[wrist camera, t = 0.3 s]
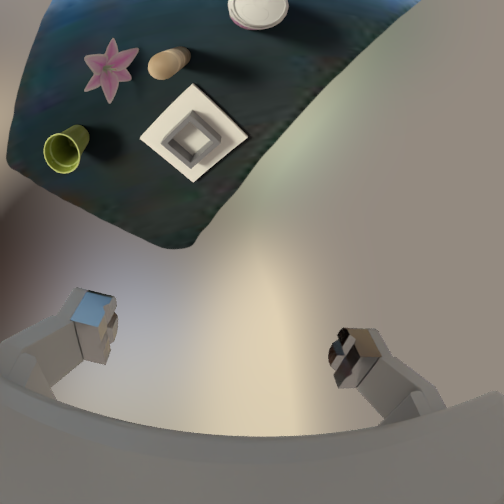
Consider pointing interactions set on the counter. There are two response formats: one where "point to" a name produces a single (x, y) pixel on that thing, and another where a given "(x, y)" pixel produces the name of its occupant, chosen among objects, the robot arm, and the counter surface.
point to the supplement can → (257, 13)
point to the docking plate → (193, 133)
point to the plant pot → (66, 149)
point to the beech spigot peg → (168, 62)
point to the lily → (110, 69)
